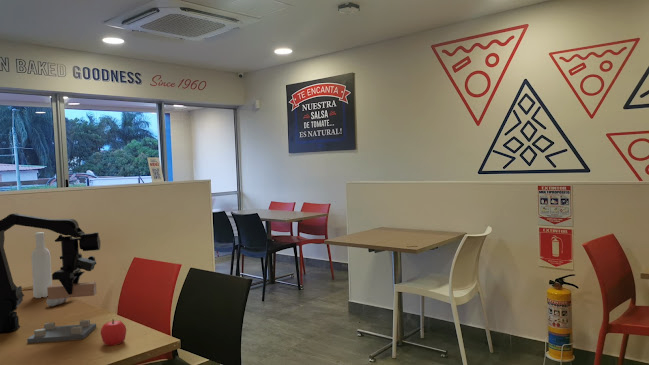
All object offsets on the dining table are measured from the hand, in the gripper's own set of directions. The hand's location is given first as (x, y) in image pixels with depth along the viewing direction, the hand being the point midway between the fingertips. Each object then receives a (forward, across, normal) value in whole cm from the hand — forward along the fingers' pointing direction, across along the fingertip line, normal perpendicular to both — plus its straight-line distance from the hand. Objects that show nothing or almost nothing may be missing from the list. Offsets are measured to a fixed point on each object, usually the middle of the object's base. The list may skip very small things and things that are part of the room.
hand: (72, 293), depth 178 cm
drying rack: (+11, -14, -2) cm, 18 cm away
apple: (+12, -26, -23) cm, 37 cm away
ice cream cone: (+12, +31, +17) cm, 37 cm away
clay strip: (+1, 0, 0) cm, 1 cm away
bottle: (+12, +46, +32) cm, 57 cm away
